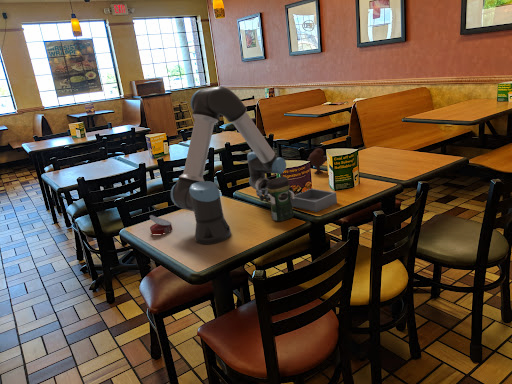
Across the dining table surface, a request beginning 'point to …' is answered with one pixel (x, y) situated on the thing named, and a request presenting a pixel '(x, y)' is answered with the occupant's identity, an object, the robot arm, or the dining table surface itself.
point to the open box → (314, 200)
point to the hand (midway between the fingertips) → (283, 198)
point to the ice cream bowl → (317, 159)
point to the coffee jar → (280, 199)
